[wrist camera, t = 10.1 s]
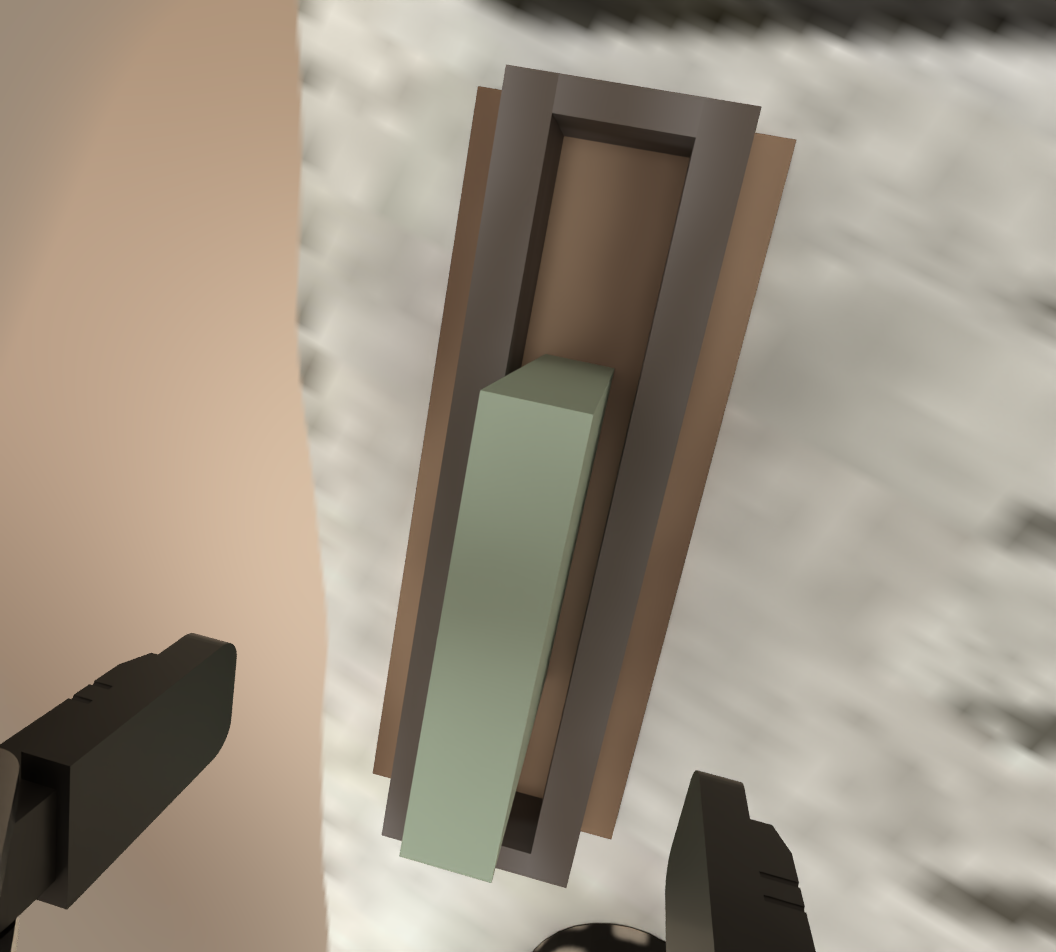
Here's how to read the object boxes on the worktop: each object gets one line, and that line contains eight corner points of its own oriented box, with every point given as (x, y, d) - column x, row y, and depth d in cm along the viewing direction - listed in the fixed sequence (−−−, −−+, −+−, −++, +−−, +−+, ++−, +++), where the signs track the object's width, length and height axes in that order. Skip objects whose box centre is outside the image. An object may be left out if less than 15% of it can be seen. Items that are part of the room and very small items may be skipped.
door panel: (614, 368, 24) (593, 414, 15) (545, 679, 28) (491, 883, 18) (545, 353, 25) (480, 390, 15) (485, 663, 28) (399, 856, 18)
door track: (790, 146, 23) (818, 116, 19) (612, 822, 30) (607, 899, 26) (484, 94, 24) (453, 55, 20) (381, 758, 31) (343, 824, 27)
